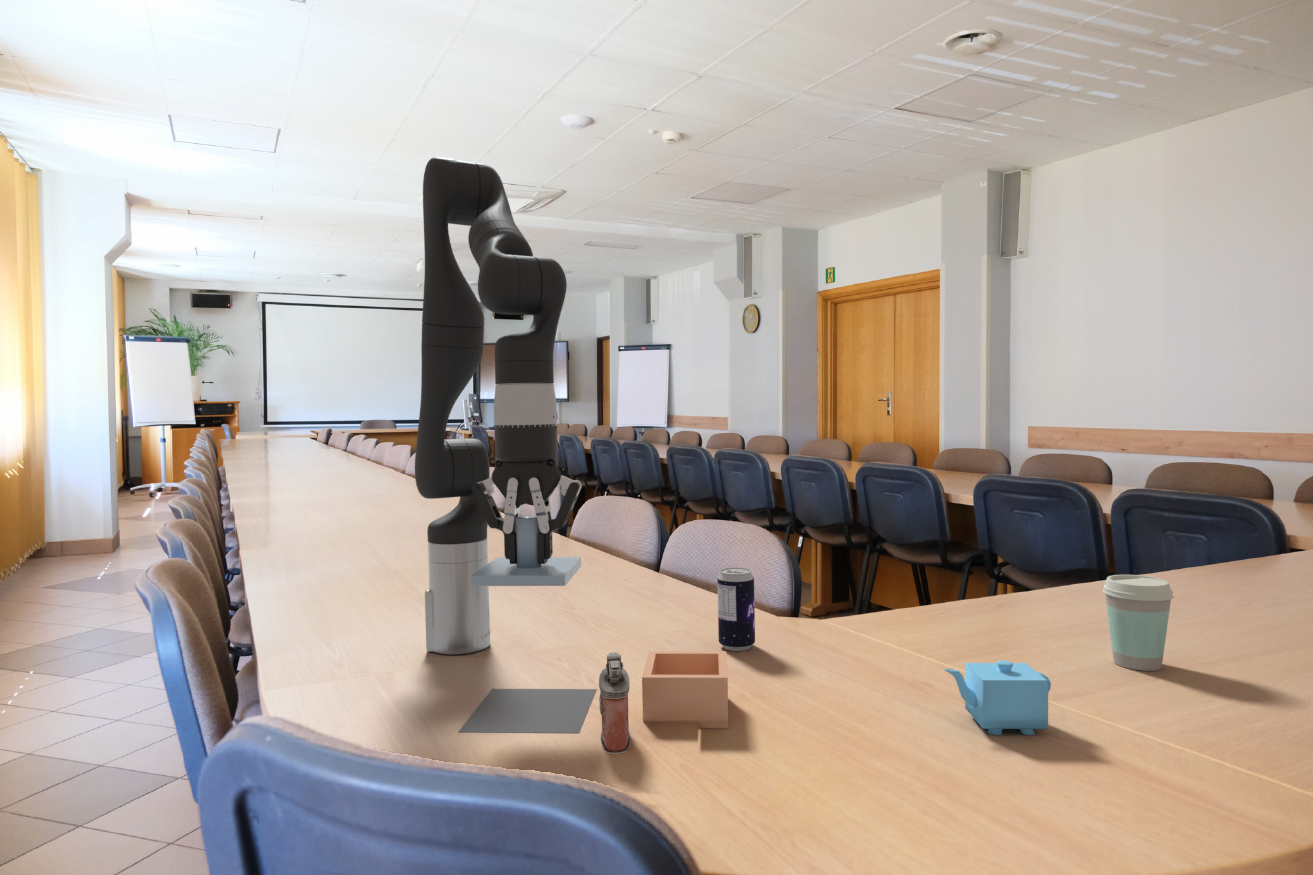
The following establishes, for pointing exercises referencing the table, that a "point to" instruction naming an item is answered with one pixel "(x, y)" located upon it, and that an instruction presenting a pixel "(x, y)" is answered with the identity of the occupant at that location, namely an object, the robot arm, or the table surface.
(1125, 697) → the table surface
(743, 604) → the beverage can
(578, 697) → the mat
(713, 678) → the tan open box
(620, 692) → the lighter
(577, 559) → the lid
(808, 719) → the table surface
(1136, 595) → the coffee cup
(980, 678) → the teapot
